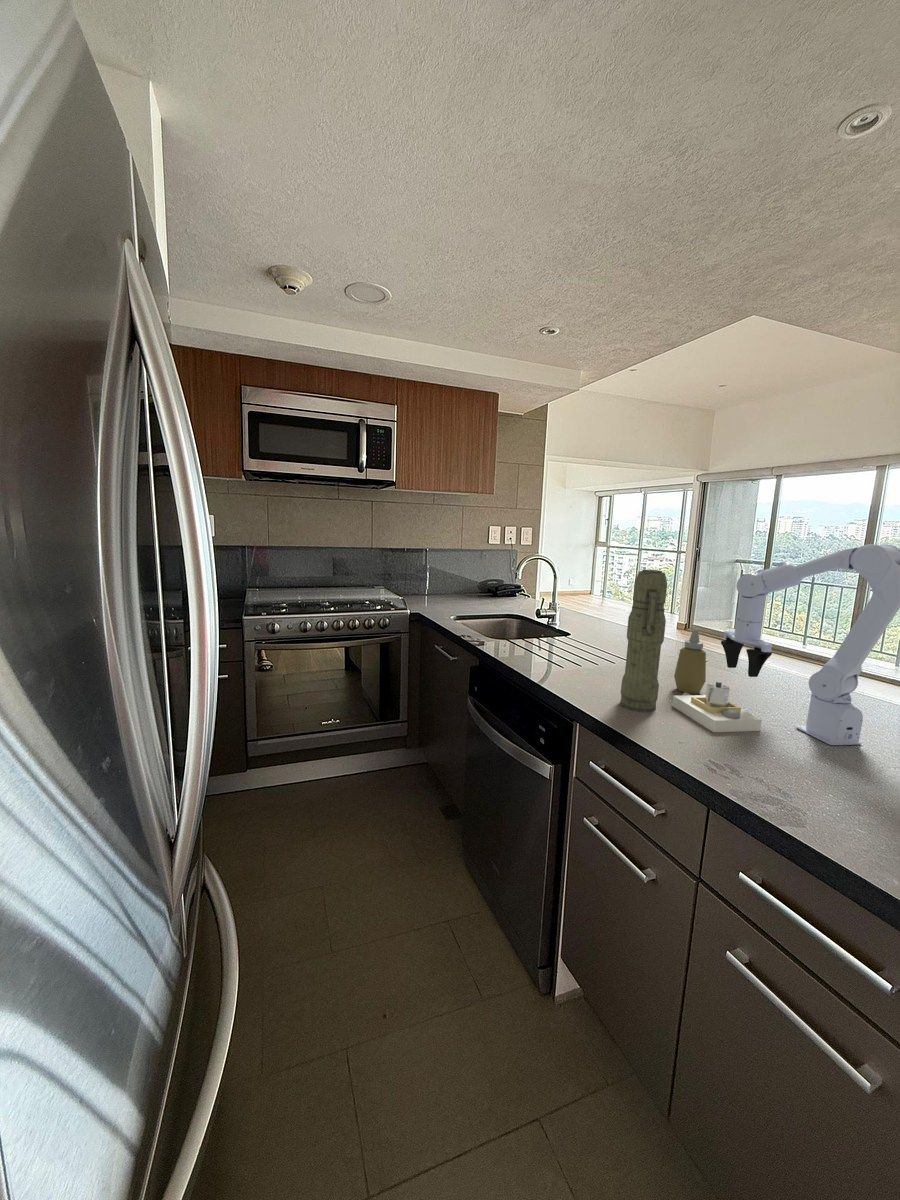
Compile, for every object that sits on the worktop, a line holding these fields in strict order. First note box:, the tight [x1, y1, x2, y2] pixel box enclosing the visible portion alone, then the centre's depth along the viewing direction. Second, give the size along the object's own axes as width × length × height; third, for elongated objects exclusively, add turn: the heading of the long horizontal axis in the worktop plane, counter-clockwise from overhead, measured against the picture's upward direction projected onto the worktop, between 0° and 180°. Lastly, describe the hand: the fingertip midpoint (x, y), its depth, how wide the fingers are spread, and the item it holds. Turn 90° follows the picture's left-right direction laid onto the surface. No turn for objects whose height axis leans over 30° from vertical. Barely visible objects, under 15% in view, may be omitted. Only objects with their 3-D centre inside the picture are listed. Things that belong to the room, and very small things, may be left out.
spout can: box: [705, 681, 730, 707], centre depth 120 cm, size 5×5×9 cm
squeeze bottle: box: [673, 628, 707, 695], centre depth 139 cm, size 8×8×18 cm
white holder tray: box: [671, 692, 763, 733], centre depth 122 cm, size 20×12×4 cm, turn 8°
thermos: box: [620, 569, 668, 713], centre depth 125 cm, size 9×12×35 cm
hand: (741, 671), depth 128 cm, fingers open, 7 cm apart
